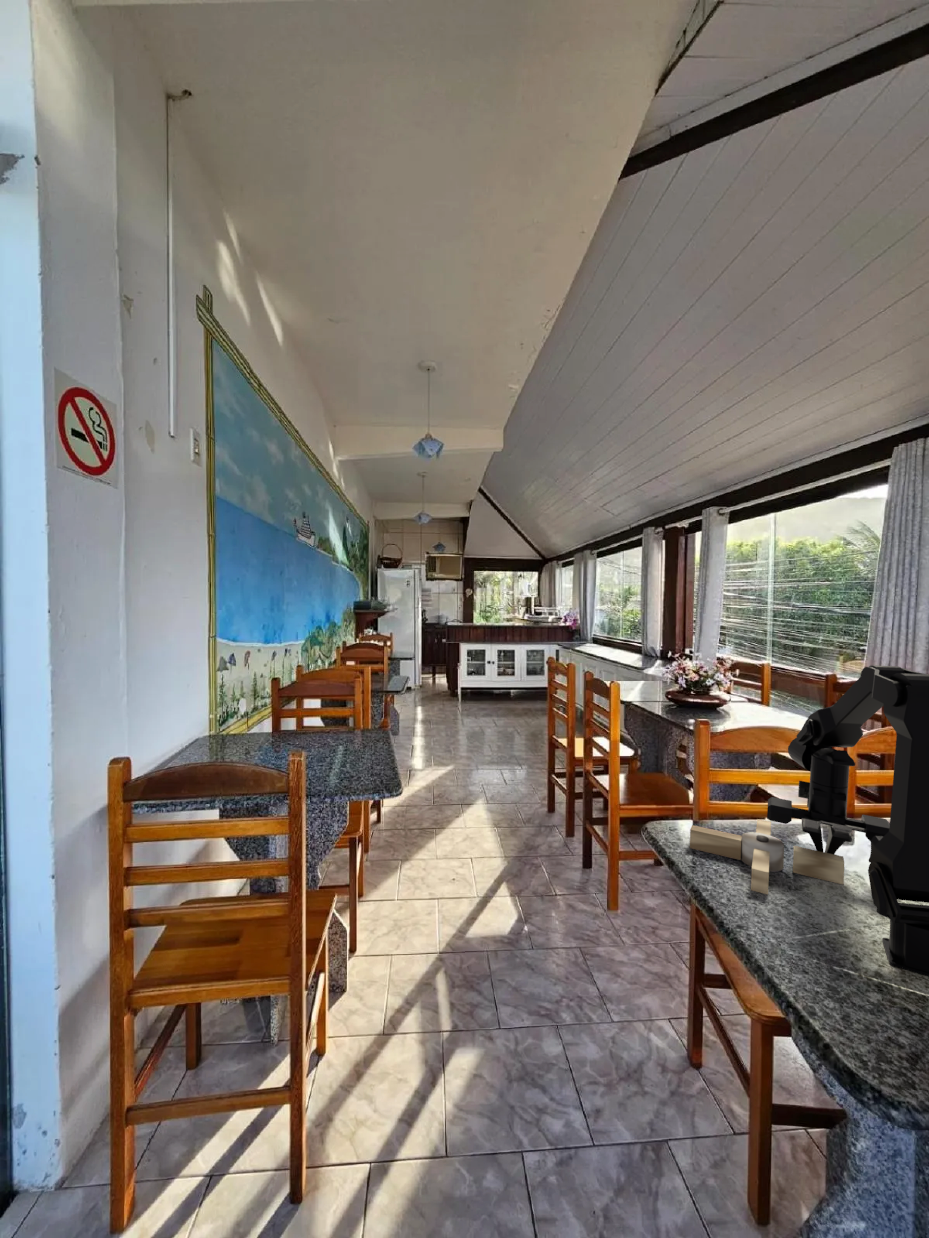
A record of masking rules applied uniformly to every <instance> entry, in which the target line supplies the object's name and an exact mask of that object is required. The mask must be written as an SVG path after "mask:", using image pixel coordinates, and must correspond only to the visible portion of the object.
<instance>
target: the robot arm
mask: <svg viewBox="0 0 929 1238" xmlns="http://www.w3.org/2000/svg"><path fill="white" fill-rule="evenodd" d="M882 708H883V713H884V716H885V717H886V719H887V720H888V723H889V724H890V725H891V727H892V728H893V730H894V731H895V733H896V739H895V751H894V764H893V766H894V767H893V777H892V778H893V779H892V792H891V801H890V802H891V804H890V805H891V806H890V819H889V821H888V820H887V819H886V818H882V817H877V816H872V815H867V814H866V815H865V814H862V815H861V820H859V819H855V818H850V817H847V807H848V797H849V796H848V793H849V777H850V776H849V775H850V767H856V762H855V761H854V759H853V758H852V757H851V756H850V755H849V753H848V750H843V749H835V748H854V747H855V746H856V745H857V744H858V743H859V741H860V739H862V737H863V735H864V732H863V730H862V727H863V725H864V724H865V723H867V721H868V720H869V719H871V718H872V716H874V715H875V714H876V713H878V711H880V709H882ZM787 752H788V755H789V757H790V758H791V759H792V760H793V761H794V762H795V763H796V764H798V765H799V766H800V767H802V768H804V769H805V770H807V771H808V772H809V773H810V775H809V781H803V780H798V792H797V795H798V798H803V799H807V801H806V802H807V804H806V807H807V809H804V808H799V807H794V806H793V804H792V803H793V802H792V800H789V799H783V798H780V797H773V796H771V797H770V798H768V799H767V811H766V819H767V821H769V822H774V823H775V822H776V823H780V824H785V825H787V824H789V823H791V822H792V819H797V820H801V829H802V830H801V831H802V832H804V833H806V834H808V835H809V836H810V839H811V841H812V844H813V845H814V847H815V850H816V851H820V852H825V853H829V854H834V855H836V852H837V851H838V850H839V848H840V847H841V846H842V845H843V844H844V843H845V842H848V843H851V842H853V837H852V834H851V833H853V831H854V832H859V833H864V835H865V837H866V839H868V841H869V842H870V855H869V858H868V863H869V865H868V869H867V873H868V881H869V887H870V892H871V897H872V898H871V899H872V903H873V905H874V906H875V908H876V912H877V913H878V915H880V916H883V917H885V918H888V919H889V937H882V945H883V948H884V951H885V954H886V957H887V960H888V963H889V965H891V966H893V967H895V968H898V969H902V970H905V971H909V972H912V973H915V974H919V975H923V976H926V977H929V905H928V904H929V674H927V673H923V672H919V671H918V672H917V671H915V670H909V669H907V668H904V667H901V666H898V665H895V666H894V665H869V666H865V667H863V669H861V672H860V676H859V678H857V680H856V681H855V682H854V683H853V684H852V685H851V686H850V687H849V688H848V689H847V690H846V691H845V692H844V694H842V696H841V697H840V698H839V699H838V700H836V702H835V703H834V704H832V705H831V706H827V707H824V708H820V709H816V711H813V712H812V713H810V714H809V716H808V717H807V719H806V720H805V722H804V724H803V726H802V728H801V730H799V732H798V733H797V734H796V737H795V738H794V739H792V740H791V741H790V743H789V744H788V746H787ZM821 825H825V826H828V834H827V839H826V844H825V849H824V843H823V833H822V827H821ZM899 901H907V902H908V901H909V902H918V903H928V904H915V903H905V902H899Z"/></svg>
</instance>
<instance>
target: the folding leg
mask: <svg viewBox="0 0 929 1238" xmlns="http://www.w3.org/2000/svg"><path fill="white" fill-rule="evenodd" d="M792 856H793V857H792V873H794V874H798V875H800V876H801V875H802V876H806V877H809V878H810V877H811V878H815V879H819V880H822V881H827V882H831V883H835V884H839V885H844V884H845V881H844V880H845V860H844V856H843V855H838V854H829V853H825V851H823V852H820V851H816V849H810V848H806V847H803V846H798V845H793V855H792Z"/></svg>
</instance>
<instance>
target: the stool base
mask: <svg viewBox="0 0 929 1238" xmlns="http://www.w3.org/2000/svg"><path fill="white" fill-rule="evenodd" d="M689 831H690V832H689V833H690V834H689V849H691V850H692V849H693V850H697V851H701V852H704V853H709V854H714V855H717V856H723V857H725V858H726V857H727V858H730V859H734V860H738V861H742V862H743V863H744V864H745V865H747V866H749V867H751V876H750V877H751V881H750V883H751V885H750V891H752V892H756V893H761V894H763V895H769V883H770V881H769V880H770V872H771V873H772V872H775V873H776V872H781V871H782V870H783V869H784V866H785V865H784V863H785V862H784V861H785V858H784V857H785V855H784V854H785V844H784V842H783V841H782V840H781V839H779V838H777V837H775V836H772V833H771V832H772V821H770V820H764V819H758V818H757V819H756V829H755V831H754V832H753V831H749V832H744V833H743V834H741V835H739V834H735V833H731V832H725V831H720V830H716V829H712V828H707V827H703V826H698V825H691V827H690V830H689Z"/></svg>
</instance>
